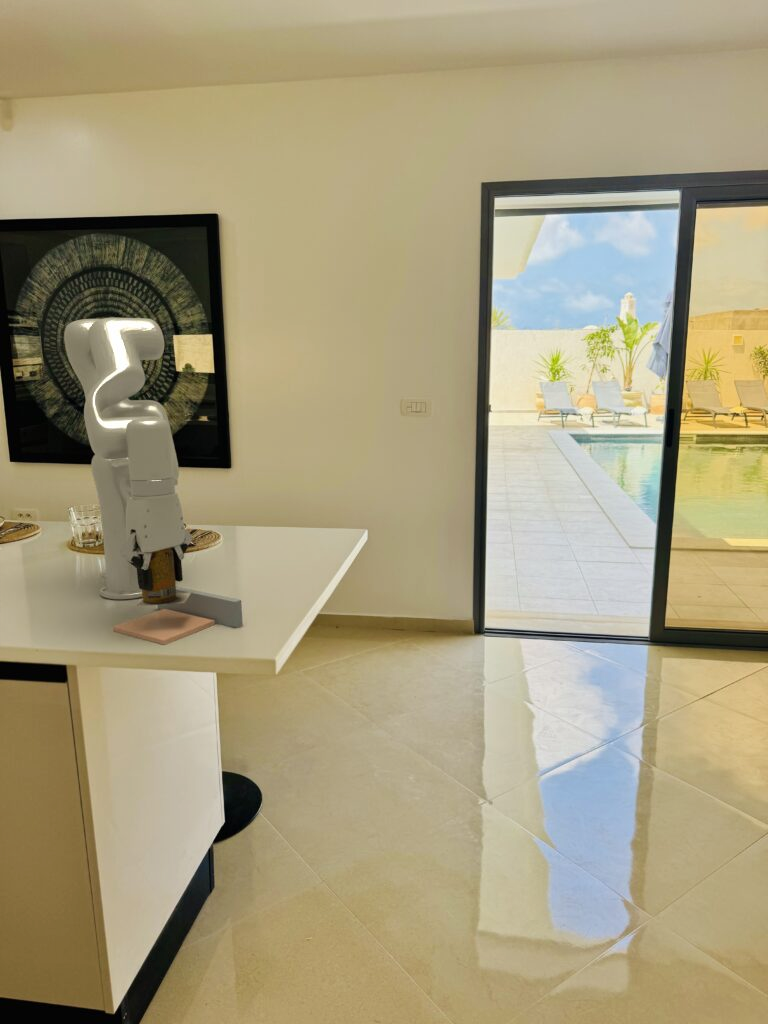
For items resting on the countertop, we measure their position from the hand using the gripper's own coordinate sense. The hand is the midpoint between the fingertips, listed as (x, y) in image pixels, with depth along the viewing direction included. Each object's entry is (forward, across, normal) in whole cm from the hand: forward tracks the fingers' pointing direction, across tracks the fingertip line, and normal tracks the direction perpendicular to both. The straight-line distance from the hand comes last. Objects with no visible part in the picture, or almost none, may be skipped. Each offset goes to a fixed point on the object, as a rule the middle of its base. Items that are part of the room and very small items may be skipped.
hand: (161, 583), depth 133 cm
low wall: (+8, -8, +1) cm, 11 cm away
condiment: (+3, 0, 0) cm, 3 cm away
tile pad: (+8, 0, 0) cm, 8 cm away
